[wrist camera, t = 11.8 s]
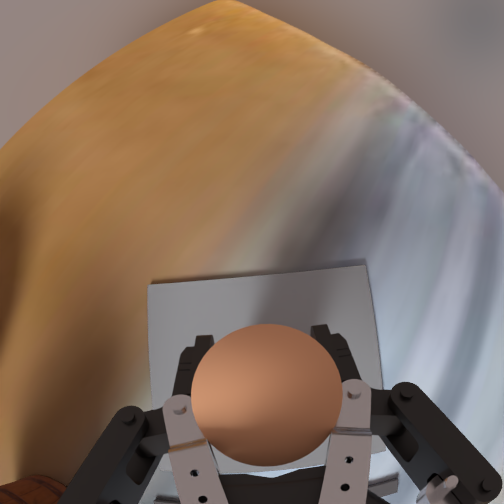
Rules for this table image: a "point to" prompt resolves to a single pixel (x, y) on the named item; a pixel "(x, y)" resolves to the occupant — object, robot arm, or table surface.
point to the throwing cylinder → (266, 395)
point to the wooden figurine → (32, 491)
